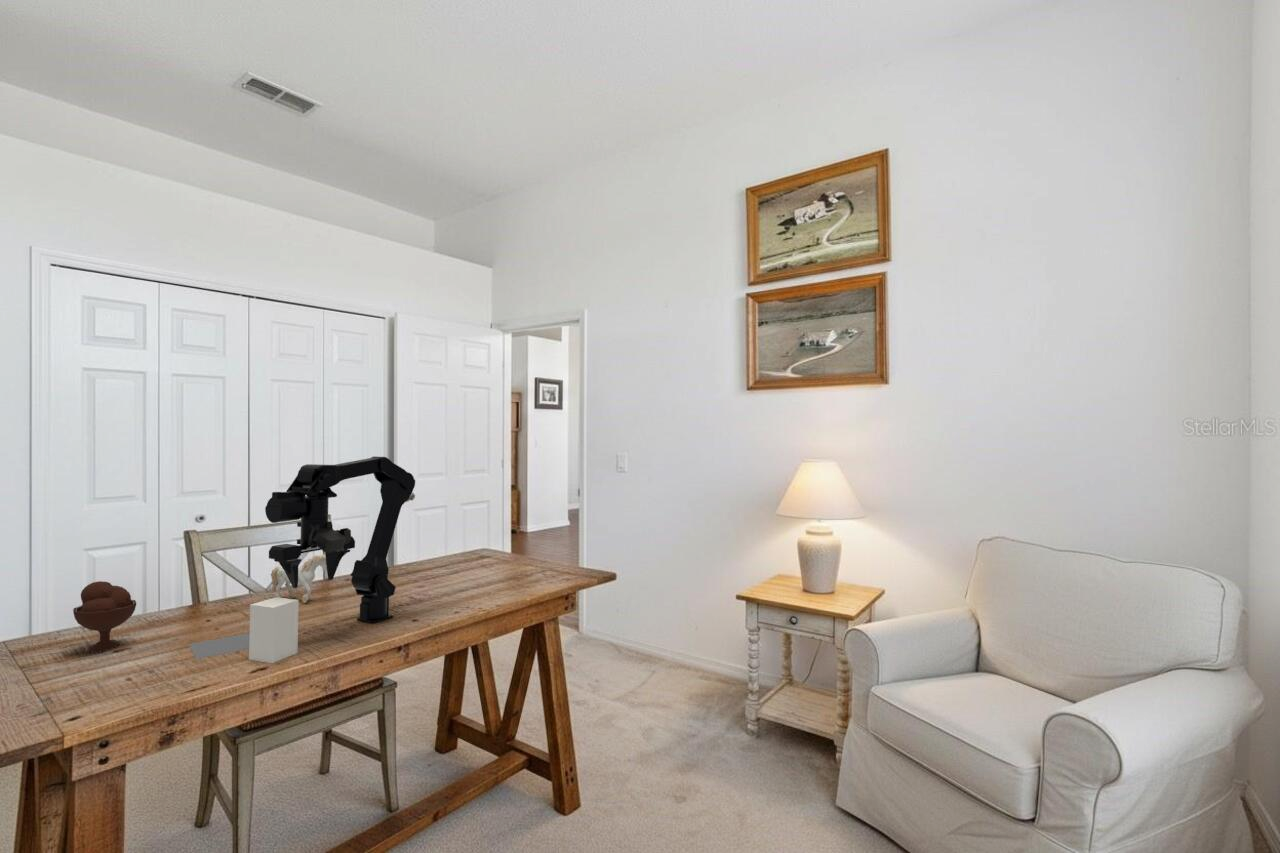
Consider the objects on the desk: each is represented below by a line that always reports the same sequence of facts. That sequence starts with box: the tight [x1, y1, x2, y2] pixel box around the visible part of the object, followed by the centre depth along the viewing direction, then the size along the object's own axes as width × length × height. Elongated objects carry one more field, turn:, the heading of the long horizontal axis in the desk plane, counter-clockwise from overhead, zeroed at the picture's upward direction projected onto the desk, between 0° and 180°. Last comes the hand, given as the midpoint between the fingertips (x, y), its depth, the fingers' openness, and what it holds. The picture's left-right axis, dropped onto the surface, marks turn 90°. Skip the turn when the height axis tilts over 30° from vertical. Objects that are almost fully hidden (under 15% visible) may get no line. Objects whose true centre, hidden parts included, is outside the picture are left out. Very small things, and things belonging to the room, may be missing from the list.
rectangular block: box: [248, 596, 299, 664], centre depth 135 cm, size 6×6×12 cm
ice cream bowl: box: [72, 580, 138, 653], centre depth 139 cm, size 11×11×15 cm
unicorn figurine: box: [269, 553, 327, 604], centre depth 179 cm, size 7×20×13 cm, turn 97°
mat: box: [187, 632, 250, 660], centre depth 141 cm, size 12×12×1 cm
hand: (313, 583), depth 147 cm, fingers open, 9 cm apart
